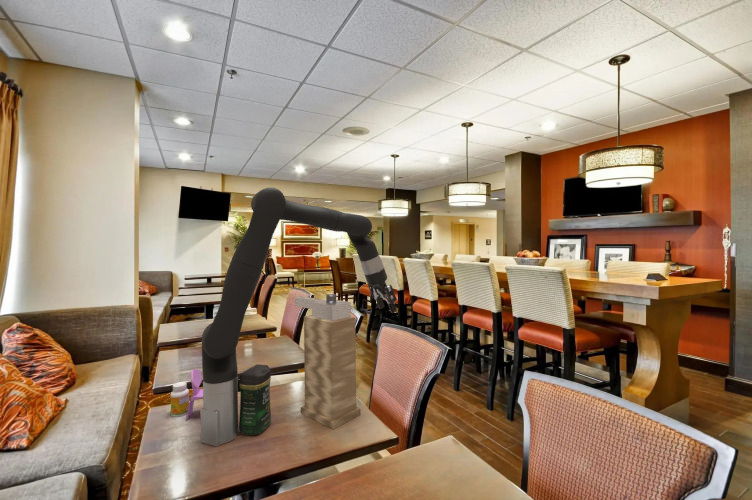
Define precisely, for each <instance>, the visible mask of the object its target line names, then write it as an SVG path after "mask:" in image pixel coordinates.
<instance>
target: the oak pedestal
mask: <svg viewBox="0 0 752 500" xmlns="http://www.w3.org/2000/svg"><path fill="white" fill-rule="evenodd" d="M356 340H357V339H356V316H351V318H346V319H342V320H338V321H333V322H332V321H327V320H322V319H317V318H313V317H312V314H310V315H305V316H303V343H304V344H303V347H304V349H303V350H304V351H303V352H304V354H303V355H304V356H303V357H304V359H303V360H304V361H303V362H304V363H303V364H304V366H303V367H304V405H302V406H300V414H302V415H304V416H306V417H308V418H309V419H312V420H314V421H315V422H318V423H320V424H321V425H323V426H324V427H326V428H329V429H330V430H335V429H338V428H339V427H341V426H342V425H344V424H347V423H348V422H350V421H352V420H354V419H355V418H357V417H359V416H361V411H362V410H361V408H360V407H359V406H357V365H356V364H357V361H356V359H357V355H356V353H357V350H356V348H357V347H356V346H357V345H356Z"/></svg>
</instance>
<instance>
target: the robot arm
mask: <svg viewBox="0 0 752 500" xmlns="http://www.w3.org/2000/svg"><path fill="white" fill-rule="evenodd" d="M250 203H251V204H250V207H251V210H252V214H251V218H250V221H249V225H248V227H247V229H246V231H245V233H244V235H243V236H242V239H241V240H240V241H239V244H238V245H237V247H236V249H235V251H234V253H233V255H232V257H231V260H230V262H229V265H228V269H227V270H226V274H225V277H224V282H223V287H222V292H221V297H220V303H219V307H218V309H217V312H216V313H215V317H214V319H213V321H212V322H211V323H210V324H208V325H207V326H206V327H205V328H204V330H203V332H202V335H201V358H202V360H201V361H202V362H201V363H202V364H201V366H202V368H201V369H202V389H203V399H202V403H203V404H202V408H200V443H203V444H206V445H211V446H214V447H219V446H220V445H224V444H226V443H229V442H231V441H233V440H234V439H236V438H237V436H239V397H238V396H239V390H238V389H239V388H238V387H239V385H238V384H239V379H238V369H239V368H238V361H237V346H238V344H239V340H240V336H241V335H240V334H241V331H242V327H243V323H244V318H245V316H246V313H247V309H248V308H249V305H250V303H251V301H252V299H253V296H254V294H255V291H256V288H257V286H258V284H259V280H260V278H261V275H262V272H263V270H264V266H265V263H266V261H267V256H268V253H269V250H270V246H271V242H272V238H273V236H274V234H275V231H276V229H277V227H278V225H279V223H280V221H289V222H295V223H300V224H304V225H308V226H312V227H314V228H315V227H316V228H319V229H324V230H328V231H333V232H336V233H337V232H338V233H339V232H342V233H347V236H348V238H349V240H350V242H351V243H352V245H353V247H354V248H355V250H356V253H357V256H358V260H359V261H360V265H361V269H362V271H363V275H364V277H365V280H366V282H367V286H368V290H369V292H370V296H371V298H372V299H374V300H375V301H376V304H377V306H378V309H379V310H382V309H384V308H385V307H386V306H385V303H384V300H385V301H386V303H387V306H388V309H389V311H390V313H391V314H394V313H396V312H397V307H396V303H395V302H396V301H397V297H396V293H395V291H394V289H393V286H392V285H391V284H389V285H387V283H386V281H387V279H388V275H387V272H386V269H385V267H384V264H383V260H382V258H381V256H380V254H379V250H378V248H377V245H376V243H375V242H374V241H373V240H372V239H370V238H369V236H368V235H369V234H370V233H371V232H372V230H373V224H372V221H371V220H370V219H369V217H366V216H364V215H361V214H355V213H348V212H342V211H340V210H337V209H333V208H330V207H324V206H318V205H311V204H310V205H309V204H303V203H299V202H294V201H292V200H291V201H290V200H287V199H286V197H285V195H284V194H283V192H282V191H281V190H280V189H278V188H277V187H266V188H263V189H260V190H259V191H257V192H256V194H255V195H253V197H252V199H251V202H250Z"/></svg>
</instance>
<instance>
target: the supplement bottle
mask: <svg viewBox="0 0 752 500" xmlns="http://www.w3.org/2000/svg"><path fill="white" fill-rule="evenodd" d="M189 402H190V390H189V389H188V387H187V382H186V381H179V382H177V383H174V384H173V385H172V391H171V392H170V415H171V416H172V417H174V418H176V417H178V418H179V417H182V416H184V415H187V414H188V410H189Z"/></svg>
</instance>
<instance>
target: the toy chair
mask: <svg viewBox="0 0 752 500" xmlns="http://www.w3.org/2000/svg"><path fill="white" fill-rule="evenodd" d="M190 378H191V380H190V381H191V386H192V387H191V388H192V393H193V394H192V395H191V396H190V399H189V410H188V413H187V414H186V418H185V422H187V421H188V420H189V418H190V417H191V414H193V410H194V405H195V401H196V400H203V388H200V385H201V383H203V377H202V374H201V370H200V369H198V368H195V369H192V370H191V372H190ZM189 416H190V417H189Z"/></svg>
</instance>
